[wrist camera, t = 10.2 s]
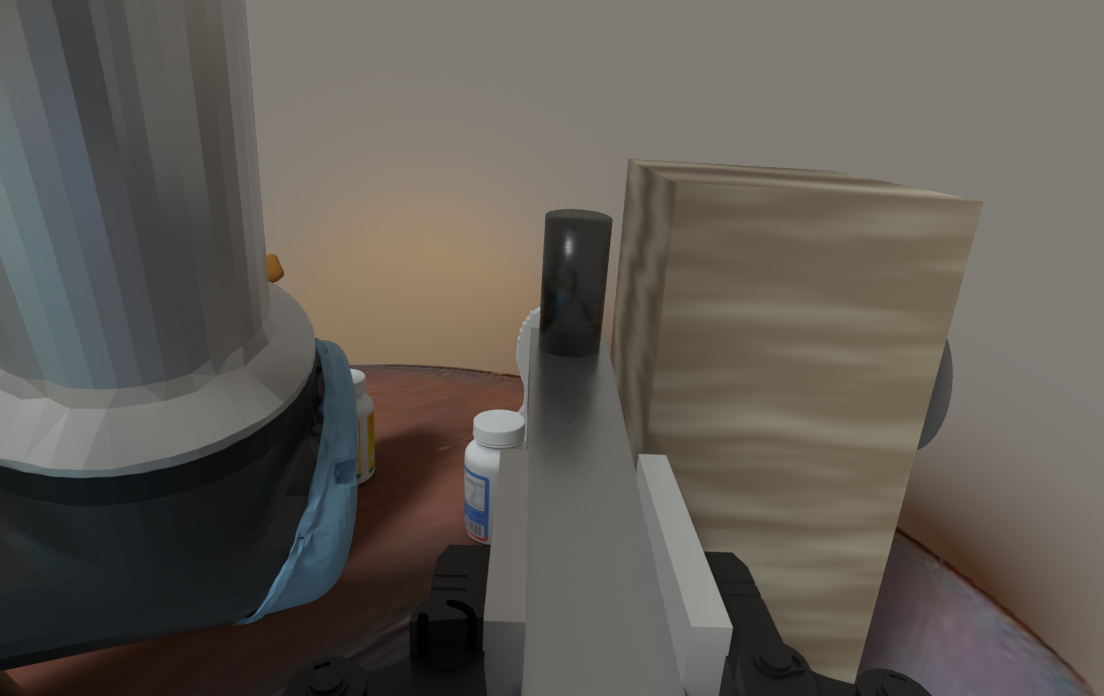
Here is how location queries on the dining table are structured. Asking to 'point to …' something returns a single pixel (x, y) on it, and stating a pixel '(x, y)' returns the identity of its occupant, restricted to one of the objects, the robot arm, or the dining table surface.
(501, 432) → the pill bottle
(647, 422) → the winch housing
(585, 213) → the crank handle
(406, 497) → the dining table surface
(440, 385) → the dining table surface
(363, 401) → the supplement bottle
